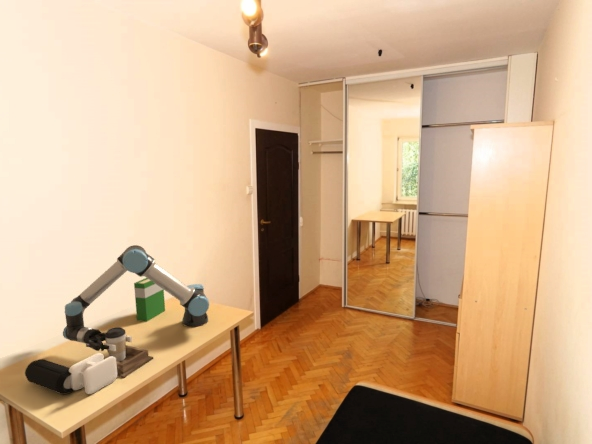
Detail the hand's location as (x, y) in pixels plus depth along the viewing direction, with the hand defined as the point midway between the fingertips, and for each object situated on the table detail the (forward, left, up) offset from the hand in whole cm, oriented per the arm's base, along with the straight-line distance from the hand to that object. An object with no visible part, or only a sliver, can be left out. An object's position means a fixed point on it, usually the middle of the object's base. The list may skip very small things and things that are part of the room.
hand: (123, 343), depth 173 cm
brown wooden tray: (0, -1, -11) cm, 11 cm away
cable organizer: (+15, +10, -11) cm, 21 cm away
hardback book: (-28, -55, -11) cm, 62 cm away
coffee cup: (+2, -4, -9) cm, 10 cm away
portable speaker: (+29, -1, -11) cm, 31 cm away
